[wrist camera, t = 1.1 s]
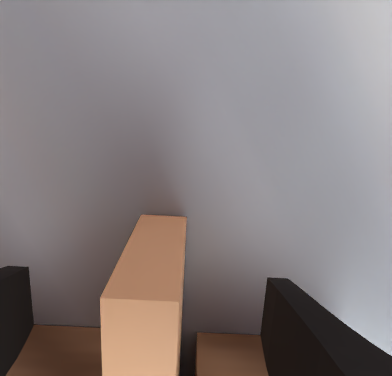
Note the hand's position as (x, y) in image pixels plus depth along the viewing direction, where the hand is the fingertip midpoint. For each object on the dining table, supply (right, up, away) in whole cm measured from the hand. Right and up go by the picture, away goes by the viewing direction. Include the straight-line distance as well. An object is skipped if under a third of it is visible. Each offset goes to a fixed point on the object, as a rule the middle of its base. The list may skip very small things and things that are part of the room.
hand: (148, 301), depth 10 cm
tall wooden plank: (0, -3, +5) cm, 5 cm away
